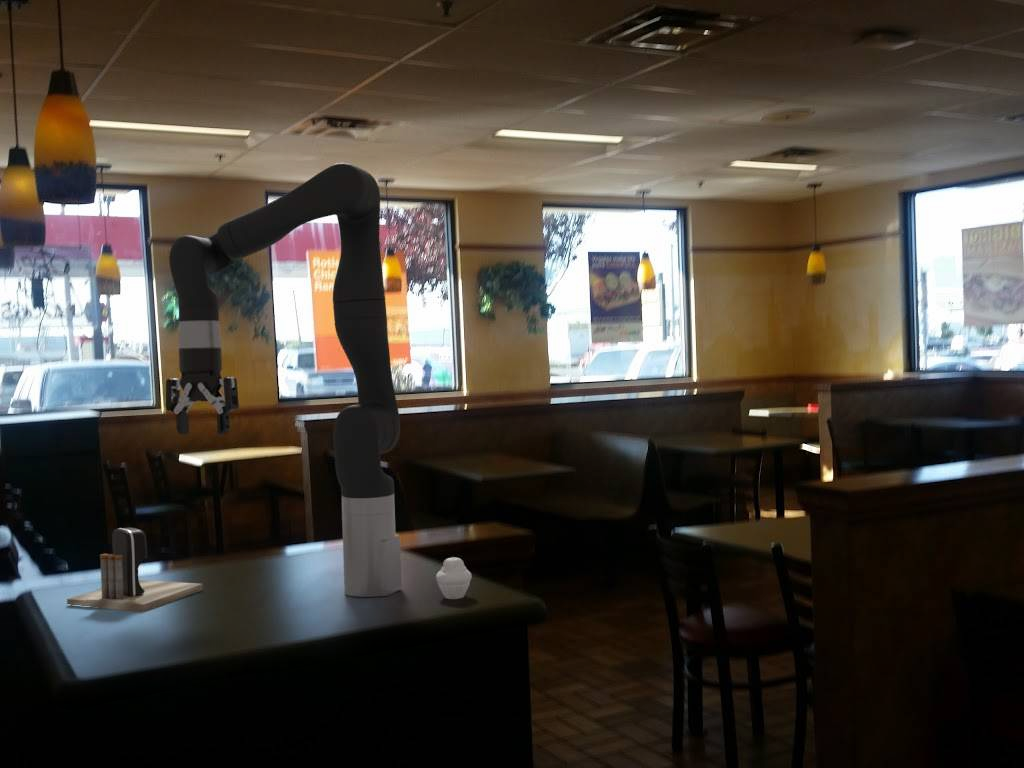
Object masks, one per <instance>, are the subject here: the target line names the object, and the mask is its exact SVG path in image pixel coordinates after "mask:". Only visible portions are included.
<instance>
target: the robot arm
mask: <svg viewBox="0 0 1024 768" xmlns="http://www.w3.org/2000/svg"><path fill="white" fill-rule="evenodd" d="M334 215H335V216H336V217H337V221H338V222H337V223H338V228H339V238H340V255H339V256H340V257H339V260H338V261H339V262H338V266H337V270H336V274H335V277H334V282H333V289H332V304H333V305H332V306H333V307H332V308H333V317H334V319H333V320H334V328H335V332H336V336H337V339H338V341H339V343H340V345H341V348H342V350H343V352H344V353H345V356H346V358H347V359H348V361H349V364H350V366H351V368H352V371H353V372H354V377H355V381H356V382H355V383H356V389H357V404H353V405H348V406H346V407H345V408H343V409H341V411H340V412H338V414H337V416H336V418H335V422H334V425H333V433H332V435H333V450H334V462H335V474H336V478H337V481H338V483H339V485H340V489H341V490H340V492H341V520H342V522H341V523H342V524H341V525H342V527H341V528H342V553H343V554H342V556H343V584H344V595H347V596H349V597H350V596H351V597H356V598H360V597H361V598H370V597H371V598H373V597H387V596H389V595H392V594H393V593H396V592H397V591H400V590H402V587H403V586H402V585H403V584H402V560H401V558H402V556H401V537H400V535H396V516H395V515H396V513H395V512H396V511H395V509H396V508H395V505H396V503H395V481H394V478H393V477H391V475H388V474H386V473H385V472H384V471H383V468H382V463H381V462H382V461H381V455H382V454H386V453H389V452H390V451H392V450H393V449H394V448H395V447H396V445H397V443H398V442H399V439H400V434H401V420H400V419H401V418H400V414H399V409H398V408H399V407H398V403H397V398H396V392H395V387H394V380H393V373H392V368H391V367H392V365H391V356H390V355H391V354H390V344H389V335H388V334H389V333H388V317H387V305H386V294H385V293H386V292H385V287H384V276H383V275H384V274H383V264H382V255H381V244H380V243H381V242H380V226H381V225H380V221H381V220H380V218H381V193H380V188H379V185H378V183H377V180H376V179H375V178H374V176H373V175H372V174H371V173H370V172H368V171H366V170H364V169H362V168H360V167H359V166H356V165H354V164H351V163H348V162H338V163H333V164H332V165H329V166H328V167H326V168H324V169H322V170H321V171H319V173H317V174H315V175H314V176H312V177H311V178H309V179H308V180H306V181H305V182H303V183H302V184H300V185H298V186H297V187H295V188H294V189H293V190H290V191H289V192H287V193H286V194H283V195H282V196H280V197H278V198H275V200H274V199H273V201H271V202H269V203H267V204H265V205H261V206H260V207H257V208H255V209H253V210H251V211H248V212H246V213H244V214H241V215H239V216H236V217H234V218H232V219H230V220H227V221H225V222H224V223H223V224H221V225H220V226H219V227H218V228H217V232H216V233H214V234H212V235H211V236H207V237H200V236H196V235H189V234H188V235H182V236H180V237H178V238H176V239H175V240H174V242H173V243H172V245H171V248H170V250H169V258H168V259H169V261H168V262H169V268H170V273H171V277H172V281H173V285H174V288H175V291H176V295H177V297H178V332H177V335H178V337H177V339H178V340H177V343H178V344H177V345H178V368H179V369H178V370H179V372H180V373H181V376H180V379H179V378H177V377H176V378H167V379H166V380H165V410H166V411H168V412H172V413H174V414H175V420H176V421H175V423H176V426H175V427H176V428H175V429H176V431H177V432H178V435H179V436H181V435H182V436H183V435H189V433H190V422H189V421H190V420H189V413H188V412H189V410H190V409H191V406H193V404H195V402H208V404H210V405H211V406H212V407H213V408H214V409H215V411H216V413H217V414H216V423H217V425H216V429H217V435H223V436H224V435H227V434H228V432H229V431H230V428H231V427H230V414H231V412H233V411H236V410H238V409H239V407H240V404H239V392H238V382H237V381H238V380H237V377H235V376H230V377H229V376H228V377H224V378H222V375H221V372H222V369H223V364H222V363H223V361H222V358H223V356H222V335H221V334H222V333H221V327H220V313H219V310H220V309H219V298H218V294H217V292H216V291H215V290H213V289H212V288H210V286H209V283H208V277H210V276H214V275H216V274H219V273H221V272H223V271H224V270H226V269H228V268H229V267H231V266H233V265H234V264H235V263H237V262H238V261H239V260H241V259H243V258H246V257H249V256H251V255H253V254H255V253H258V252H260V251H262V250H265V249H268V248H269V247H271V246H273V245H275V244H277V243H278V242H279V241H281V240H283V238H285V237H286V236H288V235H289V234H290V233H291V232H293V231H294V230H295V229H297V228H298V227H301V226H302V225H304V224H307V223H309V222H312V221H314V220H318V219H321V218H322V219H323V218H325V217H331V216H334ZM221 388H222V389H223V392H222V391H221ZM181 390H182V392H181Z"/></svg>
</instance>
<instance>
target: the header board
mask: <svg viewBox="0 0 1024 768" xmlns="http://www.w3.org/2000/svg"><path fill="white" fill-rule="evenodd" d="M99 559H100V580H101V581H100V584H101V588H99V589H96V590H92V591H89V592H85V593H82V594H79V595H76V596H73V597H69V598H67V599H66V605H67V604H71V605H81V606H90V607H98V608H97V609H101V608H106V609H105V610H115V609H116V610H118V611H131V612H146V611H148V610H152V609H155V608H157V607H159V606H163V605H165V604H168V603H169V604H170V603H171V602H173V601H177V600H180V599H183V598H185V597H188V596H190V595H193V594H197V593H199V592H202V591H203V590H204V588H203V583H199V582H198V583H193V582H178V581H165V580H164V581H163V580H161V581H160V580H145V579H139V583H140V586H141V587H142V588H143V589H144V591H145V592H144V593H143V594H139V595H135V596H126V595H123V569H122V555H115V554H113V553H111V554H110V553H109V554H108V553H102V554H99Z"/></svg>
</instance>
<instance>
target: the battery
mask: <svg viewBox="0 0 1024 768" xmlns="http://www.w3.org/2000/svg"><path fill="white" fill-rule="evenodd" d="M111 540H112V541H111V542H112V554H115V555H122V569H123V595H126V596H135V595H139V594H143V593H144V592H145V591H144V589H143V588H142V587H141V586H140V583H139V580H140V578H139V566H140V565H141V564H142V560H145V559H146V560H147V559H148V547H147V546H148V545H147V536H146V533H145V532H144V531H143V530H141V529H138V528H136V527H123V528H122V527H119V528H116V529H114V530H113V532H112V539H111Z"/></svg>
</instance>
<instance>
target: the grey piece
mask: <svg viewBox="0 0 1024 768" xmlns="http://www.w3.org/2000/svg"><path fill="white" fill-rule="evenodd" d="M442 565H443V566H442V567H440V569H439V571H438V572H437V573H436V575H435V579H436V582H437V586H438V587H439V590H440V591H441V593H442V594H443V596H444V598H445V599H447V600H458V599H462V598H464V597H465V595H466V593H467V591H468V589H469V587H470V584H471V583H470V582H471V580H472V578H473V577H472V576H473V574H472V573H471V572H470V571H469V569H467V567H466V566H465V563H464V560H462V559H461V558H459V557H454V556H452V557H448V558H446V559H445V560H444V561H443V563H442Z"/></svg>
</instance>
